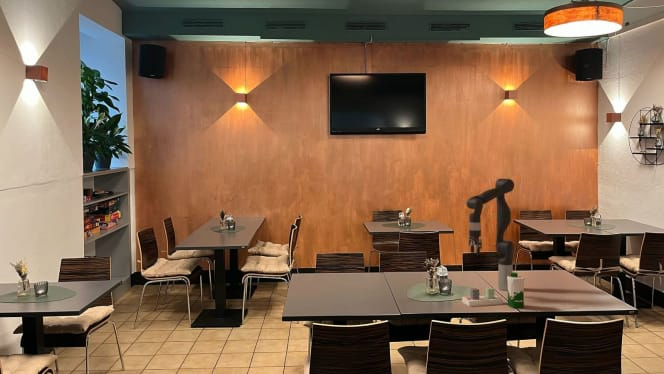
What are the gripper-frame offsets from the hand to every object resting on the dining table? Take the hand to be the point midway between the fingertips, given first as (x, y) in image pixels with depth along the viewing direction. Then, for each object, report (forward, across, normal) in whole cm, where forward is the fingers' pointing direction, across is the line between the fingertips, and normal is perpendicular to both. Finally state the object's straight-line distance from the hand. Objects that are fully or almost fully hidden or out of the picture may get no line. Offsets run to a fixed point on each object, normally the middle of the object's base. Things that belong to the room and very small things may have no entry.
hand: (475, 253), depth 366 cm
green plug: (+28, -18, -1) cm, 33 cm away
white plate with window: (+27, -18, +4) cm, 33 cm away
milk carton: (+28, -30, -12) cm, 43 cm away
